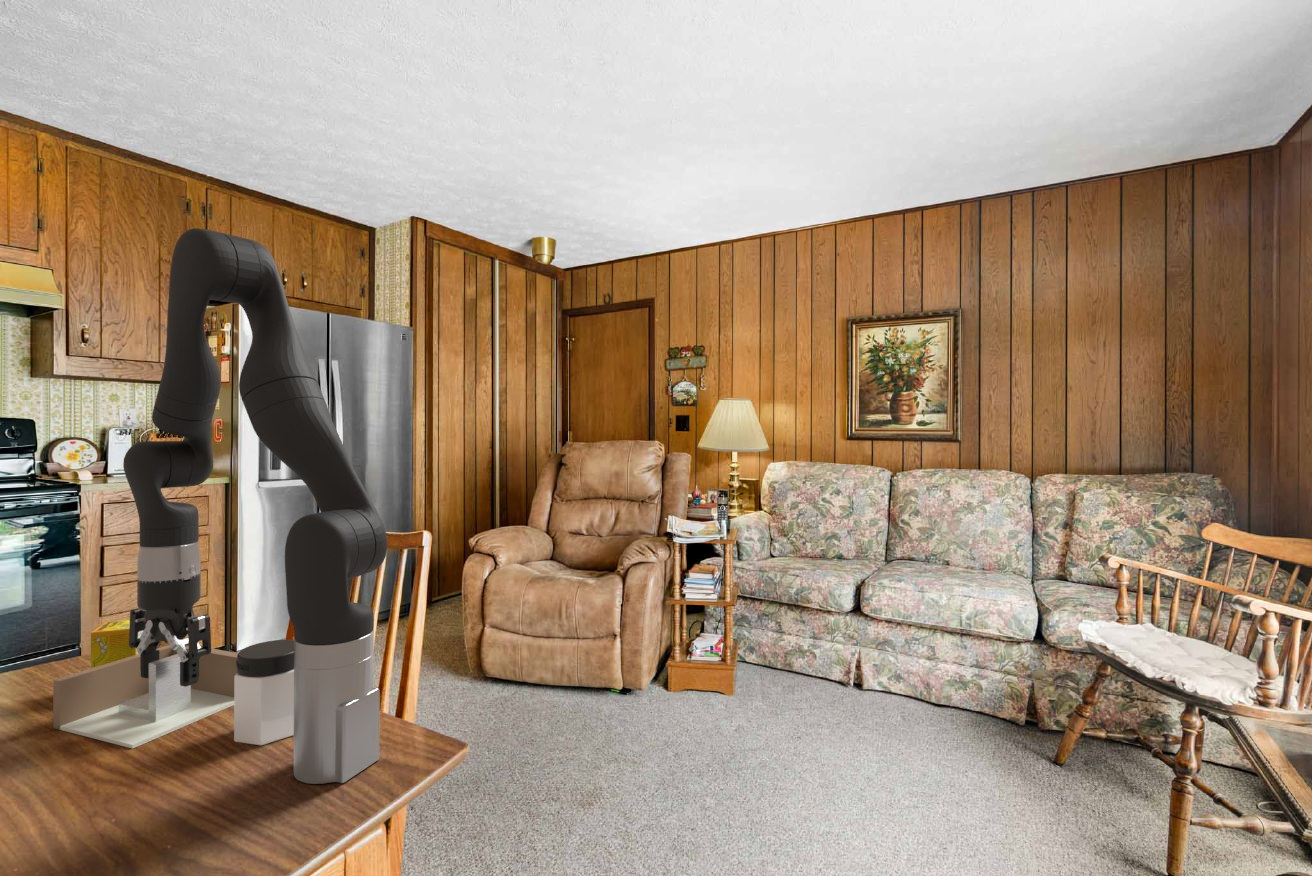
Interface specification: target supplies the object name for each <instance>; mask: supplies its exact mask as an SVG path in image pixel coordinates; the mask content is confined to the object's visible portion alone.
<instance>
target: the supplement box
mask: <svg viewBox="0 0 1312 876" xmlns="http://www.w3.org/2000/svg"><path fill="white" fill-rule="evenodd" d="M129 628H130V619H126V620H124V619H122V620H112V621H105V622H103V623H102V624H101V625H99V626H98V627H97V628H95V629H94V630H92V631H91V632H90V669H91V668H95V667H98V666H101V665H104V664H108V663H111V662H114V661H118V660H121V659H124V658H127V657H131V656H134V655H137V654H138V652H137V648H130V646H129ZM142 633H143V631H140V632H138V638H140V636H141V635H142Z"/></svg>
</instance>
